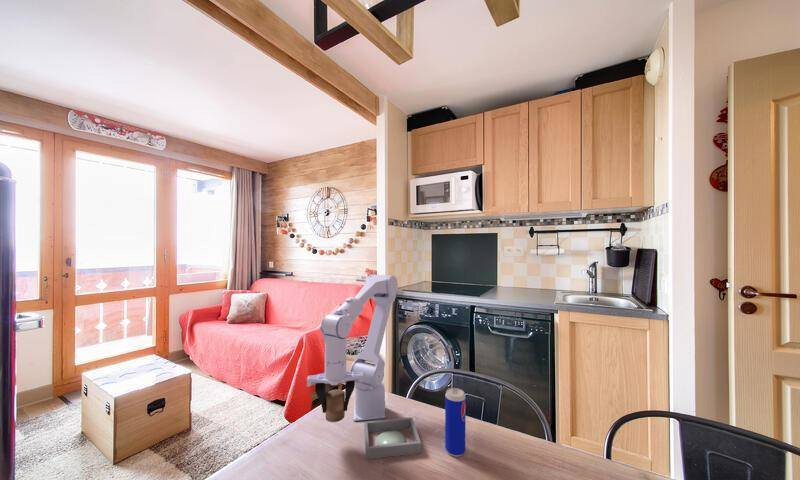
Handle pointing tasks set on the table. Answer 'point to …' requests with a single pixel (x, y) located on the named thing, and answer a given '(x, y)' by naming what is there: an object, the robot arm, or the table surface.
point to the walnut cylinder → (335, 405)
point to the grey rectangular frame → (391, 448)
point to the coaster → (390, 438)
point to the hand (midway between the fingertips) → (335, 409)
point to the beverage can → (455, 421)
